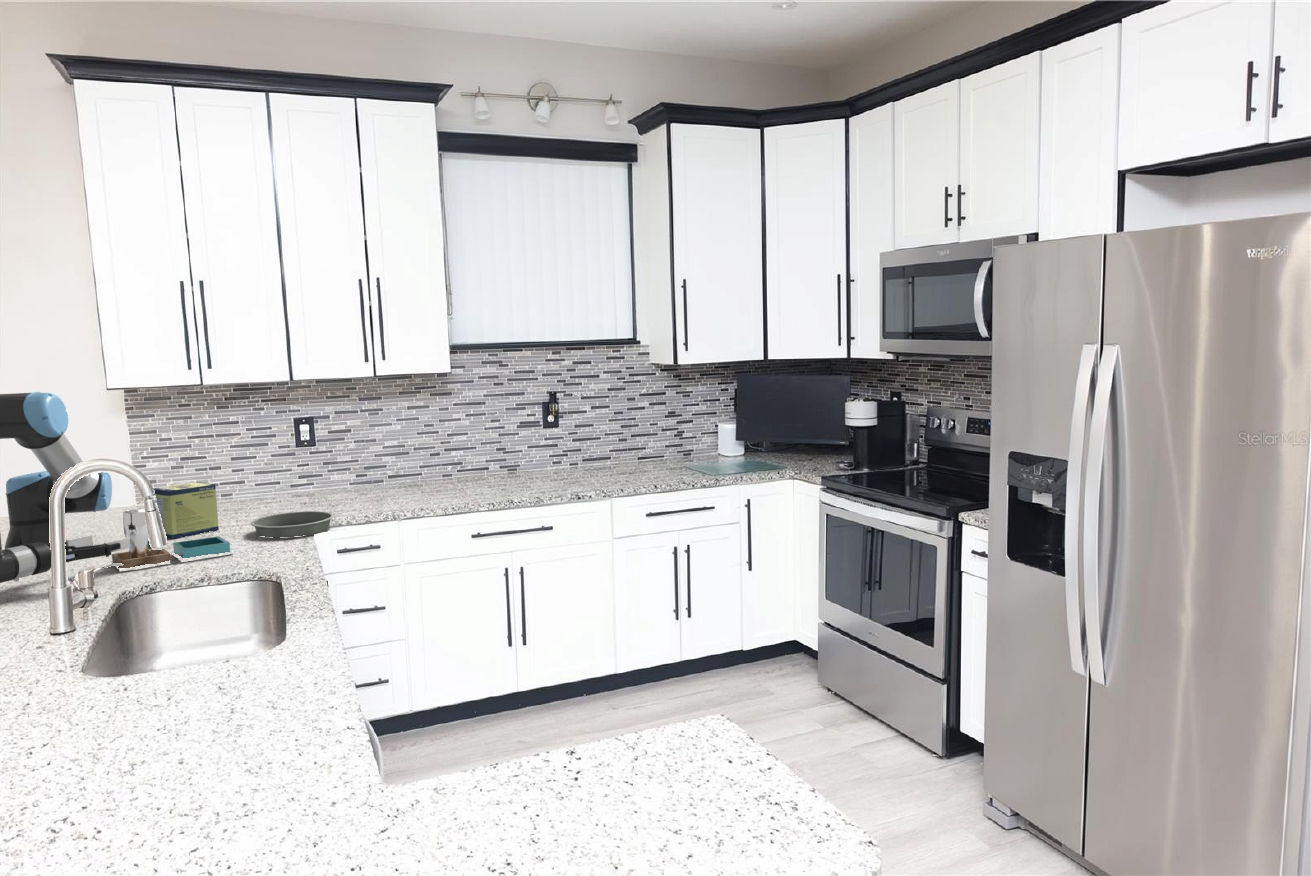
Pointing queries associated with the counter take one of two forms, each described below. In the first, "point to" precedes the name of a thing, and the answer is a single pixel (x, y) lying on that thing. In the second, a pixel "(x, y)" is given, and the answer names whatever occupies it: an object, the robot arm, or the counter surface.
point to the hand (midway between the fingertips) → (110, 541)
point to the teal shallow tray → (201, 547)
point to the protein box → (188, 509)
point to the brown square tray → (141, 558)
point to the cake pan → (292, 524)
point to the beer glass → (136, 533)
